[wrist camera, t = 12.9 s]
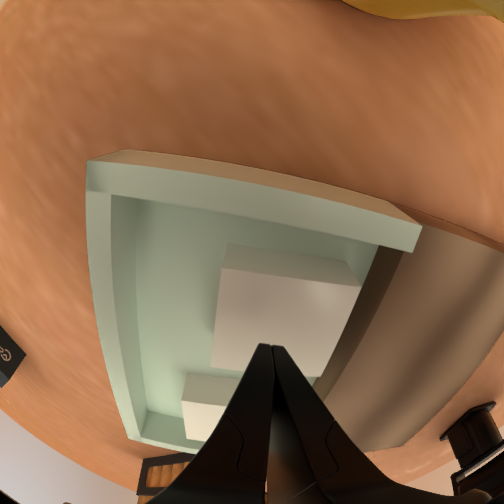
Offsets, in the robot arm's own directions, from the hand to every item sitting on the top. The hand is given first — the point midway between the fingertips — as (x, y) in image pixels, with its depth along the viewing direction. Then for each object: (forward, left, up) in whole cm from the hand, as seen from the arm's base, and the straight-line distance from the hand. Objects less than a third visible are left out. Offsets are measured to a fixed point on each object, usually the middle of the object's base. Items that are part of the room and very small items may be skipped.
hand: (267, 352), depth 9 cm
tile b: (-1, 0, -4) cm, 4 cm away
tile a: (0, +8, -4) cm, 9 cm away
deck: (-10, +4, -4) cm, 11 cm away
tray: (+1, +4, -4) cm, 6 cm away
